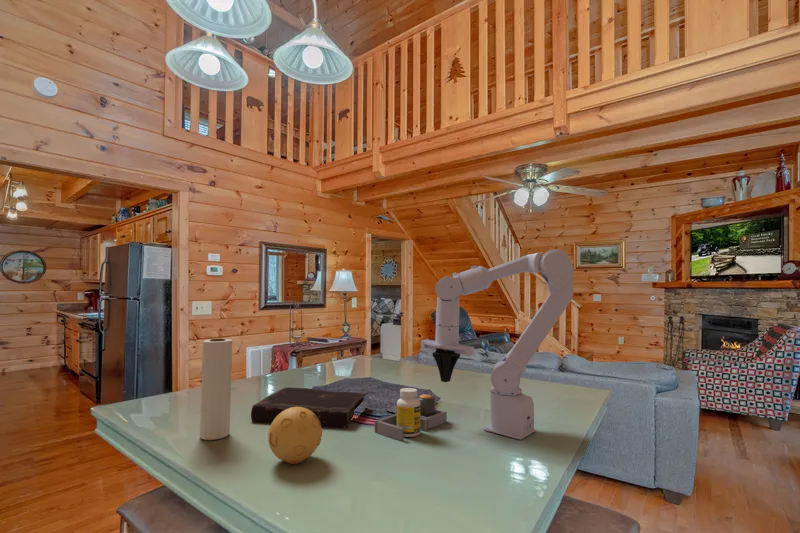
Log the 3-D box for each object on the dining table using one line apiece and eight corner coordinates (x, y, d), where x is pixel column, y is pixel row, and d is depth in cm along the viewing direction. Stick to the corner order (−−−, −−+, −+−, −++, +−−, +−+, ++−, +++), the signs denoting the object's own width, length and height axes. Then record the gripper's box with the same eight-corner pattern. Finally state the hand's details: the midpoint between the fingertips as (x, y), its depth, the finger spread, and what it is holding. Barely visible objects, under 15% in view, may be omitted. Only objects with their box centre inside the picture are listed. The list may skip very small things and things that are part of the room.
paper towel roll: (223, 440, 86) (226, 341, 87) (194, 441, 86) (198, 341, 87) (235, 429, 93) (237, 337, 95) (208, 429, 93) (211, 337, 94)
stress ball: (274, 458, 79) (247, 439, 72) (302, 413, 85) (279, 391, 78) (311, 478, 74) (286, 459, 68) (338, 429, 80) (318, 406, 73)
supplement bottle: (417, 438, 87) (417, 393, 88) (393, 436, 89) (393, 391, 90) (422, 430, 93) (422, 387, 93) (400, 428, 94) (400, 386, 95)
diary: (347, 432, 93) (347, 411, 94) (250, 425, 98) (250, 405, 99) (368, 408, 112) (368, 390, 112) (286, 403, 117) (286, 386, 117)
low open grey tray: (446, 421, 99) (446, 395, 99) (401, 440, 86) (401, 410, 87) (395, 408, 110) (395, 384, 111) (348, 423, 98) (348, 396, 98)
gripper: (414, 323, 100) (412, 378, 99) (463, 329, 90) (461, 389, 90) (431, 322, 105) (429, 374, 105) (479, 327, 96) (477, 384, 95)
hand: (445, 381), depth 98 cm, fingers closed
